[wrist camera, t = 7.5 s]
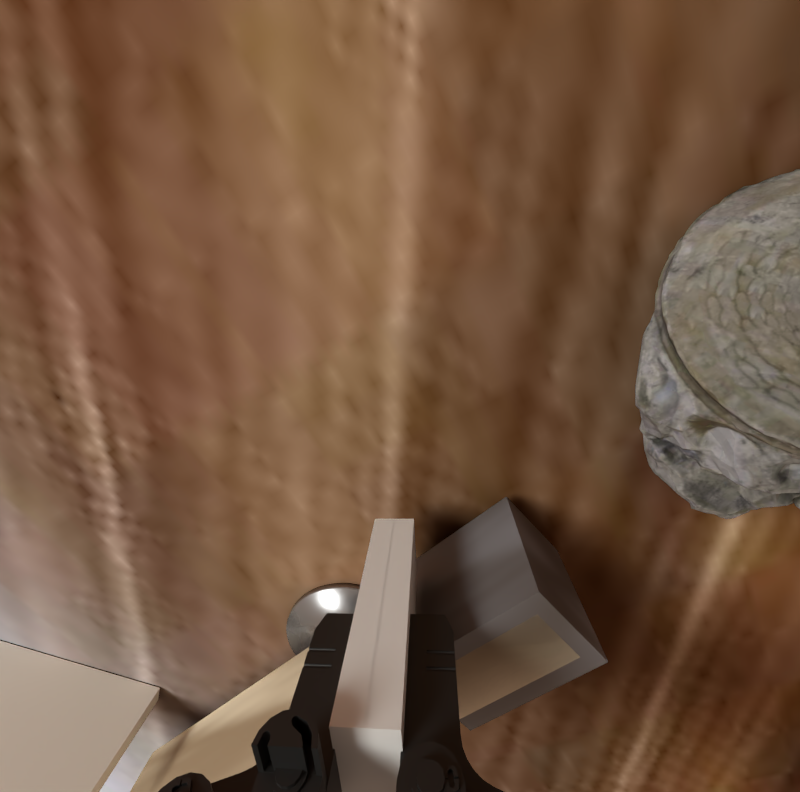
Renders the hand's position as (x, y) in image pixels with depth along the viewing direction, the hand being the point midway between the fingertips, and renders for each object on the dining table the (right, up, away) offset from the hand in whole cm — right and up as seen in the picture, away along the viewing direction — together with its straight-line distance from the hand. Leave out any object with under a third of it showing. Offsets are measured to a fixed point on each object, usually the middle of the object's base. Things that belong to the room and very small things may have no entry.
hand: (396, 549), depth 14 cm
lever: (-4, -7, +4) cm, 9 cm away
